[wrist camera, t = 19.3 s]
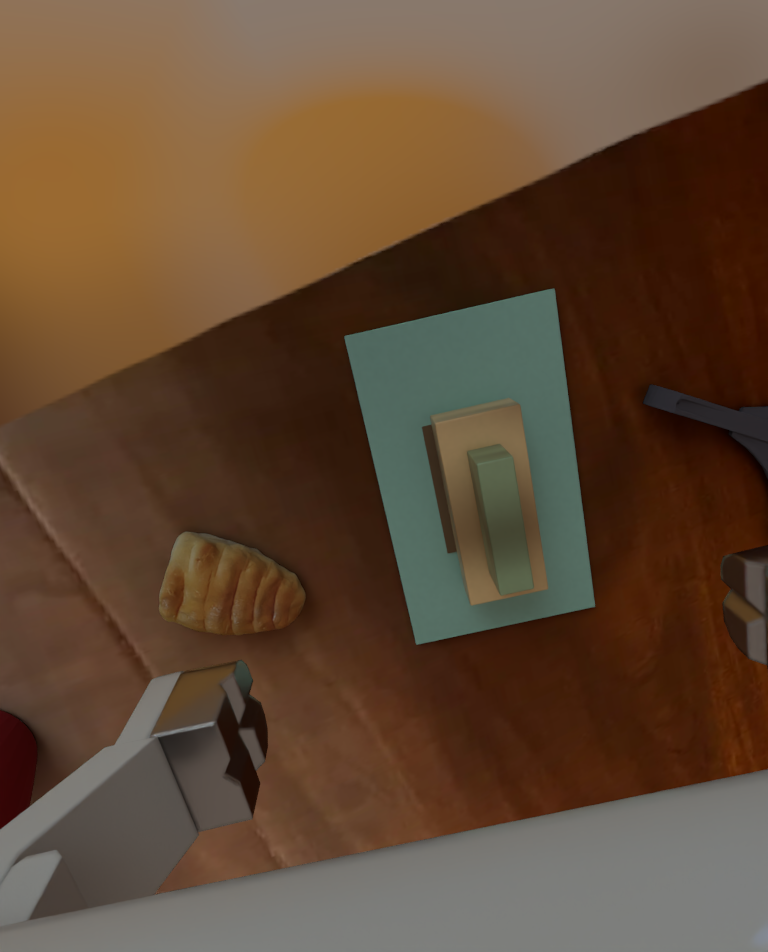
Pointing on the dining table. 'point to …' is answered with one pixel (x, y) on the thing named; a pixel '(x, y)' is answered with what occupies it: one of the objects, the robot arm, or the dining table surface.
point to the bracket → (719, 418)
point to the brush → (490, 500)
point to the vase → (15, 767)
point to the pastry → (227, 588)
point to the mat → (417, 466)
